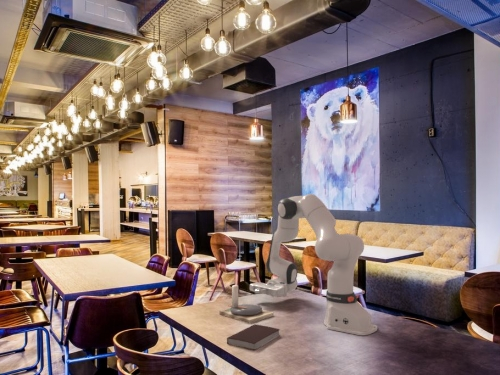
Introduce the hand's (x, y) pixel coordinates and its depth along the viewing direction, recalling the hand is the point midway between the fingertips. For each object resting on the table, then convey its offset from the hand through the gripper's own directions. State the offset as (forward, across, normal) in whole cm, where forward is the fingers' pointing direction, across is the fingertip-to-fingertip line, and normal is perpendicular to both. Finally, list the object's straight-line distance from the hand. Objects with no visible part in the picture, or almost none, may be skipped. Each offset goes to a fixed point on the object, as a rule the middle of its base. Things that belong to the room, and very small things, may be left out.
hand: (256, 291), depth 195 cm
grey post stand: (+13, +5, +6) cm, 15 cm away
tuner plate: (+13, +6, +8) cm, 16 cm away
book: (+34, +31, +8) cm, 46 cm away
